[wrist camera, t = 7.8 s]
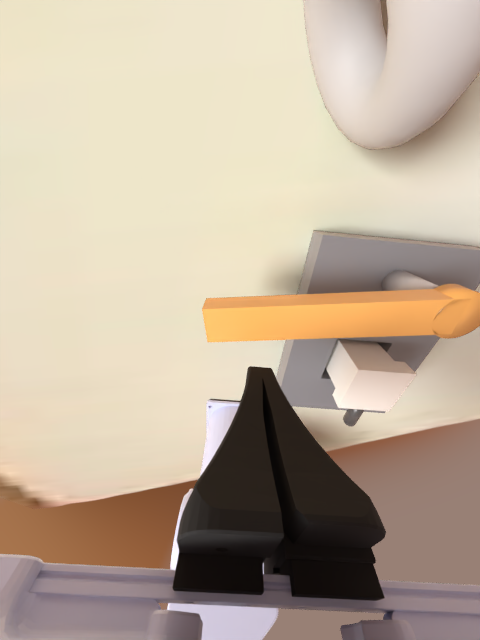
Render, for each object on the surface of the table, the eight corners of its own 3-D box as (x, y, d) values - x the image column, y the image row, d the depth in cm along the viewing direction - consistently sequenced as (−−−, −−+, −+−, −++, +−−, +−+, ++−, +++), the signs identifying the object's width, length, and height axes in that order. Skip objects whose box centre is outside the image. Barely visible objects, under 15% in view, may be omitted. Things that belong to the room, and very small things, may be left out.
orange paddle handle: (211, 332, 14) (208, 345, 13) (205, 294, 13) (201, 304, 12) (452, 324, 14) (474, 337, 12) (476, 282, 12) (504, 292, 11)
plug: (347, 383, 27) (374, 431, 21) (309, 380, 27) (327, 428, 21) (374, 330, 22) (417, 374, 17) (329, 327, 22) (358, 369, 17)
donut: (385, 140, 14) (598, 52, 6) (337, 174, 15) (456, 142, 7) (335, -79, 10) (855, -1675, 1) (274, -13, 11) (373, -731, 3)
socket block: (373, 396, 28) (407, 448, 22) (273, 388, 28) (281, 440, 22) (471, 245, 18) (582, 269, 12) (313, 230, 17) (348, 246, 11)
